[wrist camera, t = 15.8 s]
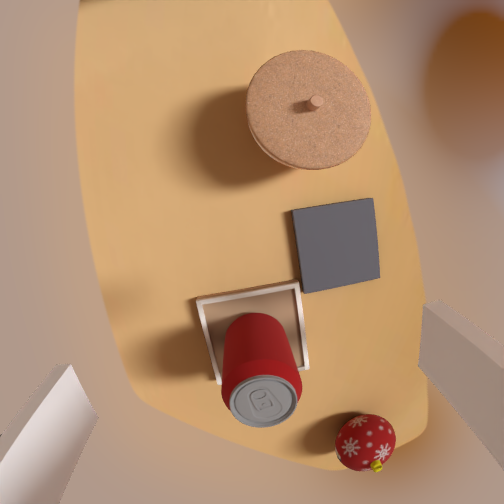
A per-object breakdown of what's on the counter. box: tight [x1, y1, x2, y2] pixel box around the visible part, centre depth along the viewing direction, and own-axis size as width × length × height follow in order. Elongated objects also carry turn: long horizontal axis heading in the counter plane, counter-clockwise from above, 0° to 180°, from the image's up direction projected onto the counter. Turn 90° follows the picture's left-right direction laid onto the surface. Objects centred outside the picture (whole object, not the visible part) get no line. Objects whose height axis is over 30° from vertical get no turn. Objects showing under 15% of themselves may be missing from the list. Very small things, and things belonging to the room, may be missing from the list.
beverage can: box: [221, 313, 302, 428], centre depth 28 cm, size 7×7×12 cm
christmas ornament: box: [335, 414, 396, 472], centre depth 34 cm, size 9×9×10 cm
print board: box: [196, 279, 309, 385], centre depth 34 cm, size 11×11×1 cm
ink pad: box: [291, 198, 380, 294], centre depth 33 cm, size 9×9×1 cm
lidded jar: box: [246, 50, 371, 170], centre depth 26 cm, size 11×11×9 cm
